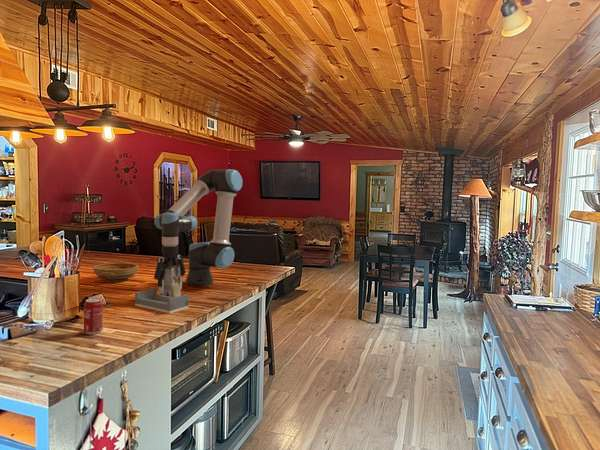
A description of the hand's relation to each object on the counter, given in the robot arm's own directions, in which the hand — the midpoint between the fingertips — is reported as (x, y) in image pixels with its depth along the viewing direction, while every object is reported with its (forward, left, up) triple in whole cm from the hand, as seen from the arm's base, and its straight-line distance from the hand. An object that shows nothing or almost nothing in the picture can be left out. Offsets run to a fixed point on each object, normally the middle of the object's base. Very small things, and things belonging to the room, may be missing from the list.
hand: (170, 291), depth 211 cm
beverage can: (+50, +14, -4) cm, 52 cm away
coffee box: (0, 0, -4) cm, 4 cm away
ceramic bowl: (-14, -58, -4) cm, 60 cm away
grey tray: (+12, +7, -4) cm, 14 cm away
